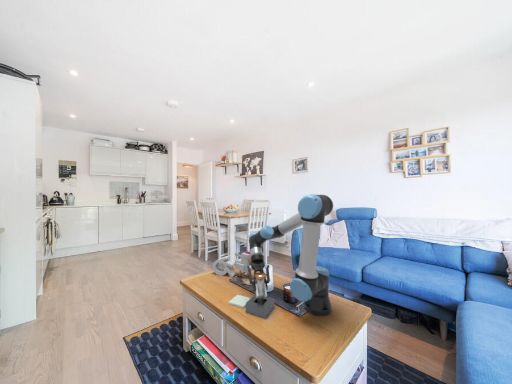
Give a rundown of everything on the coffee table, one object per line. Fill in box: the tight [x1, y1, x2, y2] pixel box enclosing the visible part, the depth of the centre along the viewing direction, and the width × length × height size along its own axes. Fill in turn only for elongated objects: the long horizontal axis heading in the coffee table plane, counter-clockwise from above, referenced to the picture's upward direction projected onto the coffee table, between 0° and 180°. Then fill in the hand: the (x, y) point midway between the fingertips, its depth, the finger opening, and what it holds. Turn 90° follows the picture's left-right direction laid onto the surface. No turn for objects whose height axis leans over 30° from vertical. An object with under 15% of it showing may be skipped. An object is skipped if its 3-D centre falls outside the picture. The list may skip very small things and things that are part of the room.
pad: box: [227, 294, 252, 309], centre depth 124 cm, size 10×10×1 cm
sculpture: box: [212, 255, 237, 278], centre depth 164 cm, size 18×6×15 cm, turn 71°
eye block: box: [245, 293, 275, 320], centre depth 116 cm, size 12×12×5 cm
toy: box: [234, 250, 254, 276], centre depth 160 cm, size 10×17×20 cm, turn 49°
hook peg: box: [255, 271, 267, 305], centre depth 116 cm, size 6×6×18 cm
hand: (261, 296), depth 112 cm, fingers closed on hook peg, 4 cm apart
